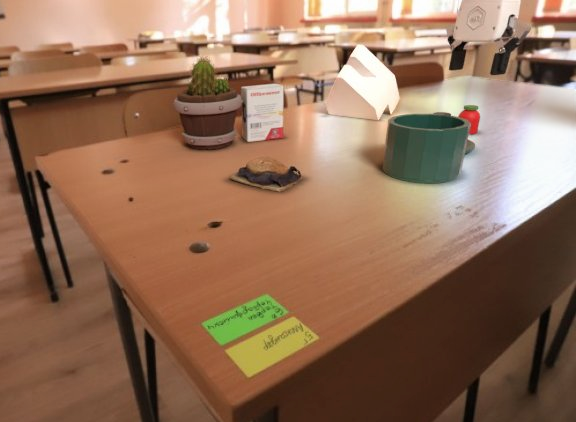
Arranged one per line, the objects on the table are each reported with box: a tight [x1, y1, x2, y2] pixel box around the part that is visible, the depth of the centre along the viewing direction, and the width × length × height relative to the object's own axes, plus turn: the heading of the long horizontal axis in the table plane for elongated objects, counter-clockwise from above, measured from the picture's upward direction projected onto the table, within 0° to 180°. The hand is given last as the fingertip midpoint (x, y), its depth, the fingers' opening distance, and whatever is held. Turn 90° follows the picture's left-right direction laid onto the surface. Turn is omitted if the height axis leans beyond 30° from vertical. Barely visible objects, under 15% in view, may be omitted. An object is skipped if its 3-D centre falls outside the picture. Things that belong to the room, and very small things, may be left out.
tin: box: [382, 113, 471, 184], centre depth 69 cm, size 12×12×8 cm
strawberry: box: [457, 104, 481, 135], centre depth 89 cm, size 4×4×6 cm
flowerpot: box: [172, 55, 243, 151], centre depth 90 cm, size 14×15×20 cm
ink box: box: [240, 83, 285, 143], centre depth 94 cm, size 9×5×12 cm, turn 100°
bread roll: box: [229, 156, 304, 193], centre depth 71 cm, size 11×8×4 cm
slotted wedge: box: [324, 44, 401, 121], centre depth 107 cm, size 14×11×18 cm
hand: (475, 72), depth 85 cm, fingers open, 9 cm apart
